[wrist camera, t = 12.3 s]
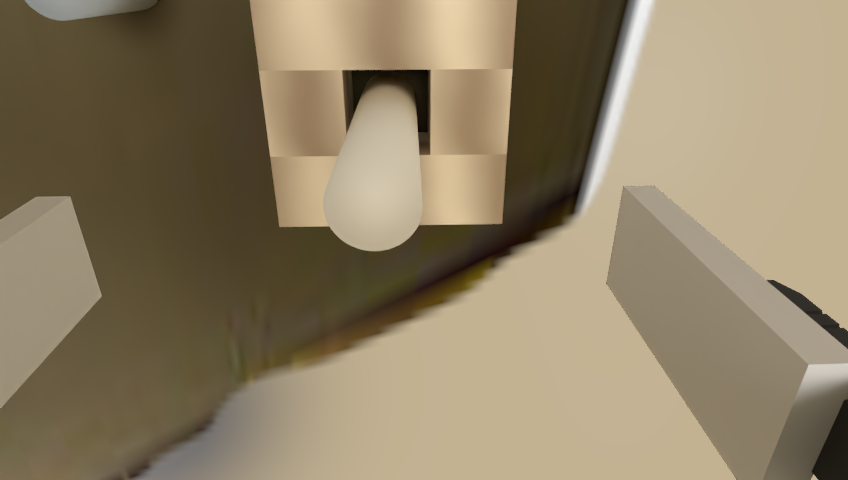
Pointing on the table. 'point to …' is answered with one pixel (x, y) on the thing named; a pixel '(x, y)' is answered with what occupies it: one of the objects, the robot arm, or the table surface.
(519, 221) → the table surface
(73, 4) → the short pin
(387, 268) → the table surface
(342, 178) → the long pin
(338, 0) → the block
